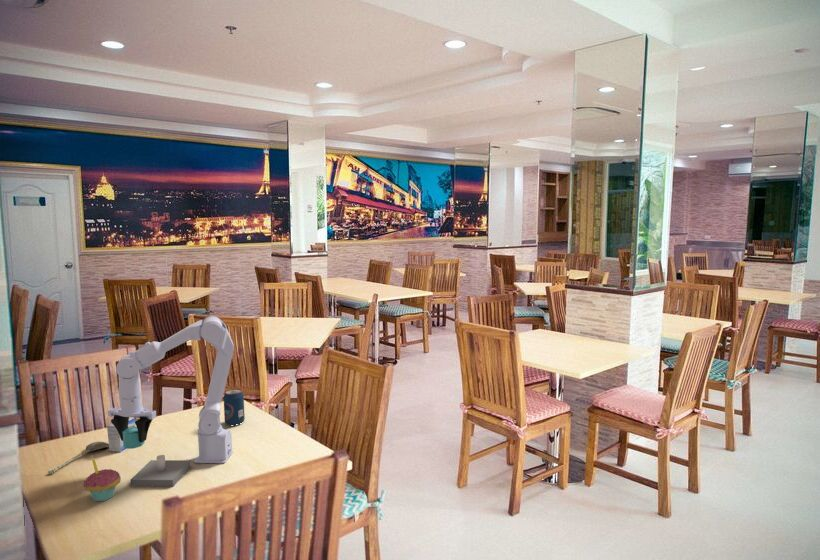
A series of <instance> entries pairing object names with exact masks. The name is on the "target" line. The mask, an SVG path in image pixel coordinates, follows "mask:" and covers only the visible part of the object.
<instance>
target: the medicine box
mask: <svg viewBox="0 0 820 560" xmlns="http://www.w3.org/2000/svg"><path fill="white" fill-rule="evenodd" d="M135 421H137V419H136V417H129V422H128V428H132V427H137V426H136V424H135ZM106 429H107V430H106V431H107V439H108V442H107V443H108V444H109V447H108V451H109V452H118V453H121V452H124V451H125V450H127V449H126V448H125V447H124V446H123V441H121V438H120V435H119V433H118V431H117V429H116V428H115V426H114V425H113V424H112V423H111V424H108V425H107V427H106Z"/></svg>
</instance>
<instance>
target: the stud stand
mask: <svg viewBox="0 0 820 560" xmlns="http://www.w3.org/2000/svg"><path fill="white" fill-rule="evenodd" d="M191 467H192V461H191V459H190V460H188V459H186V460H185V459H183V460H180V459H179V460H177V459H174V460H172V459H171V460H169V459H167V460H166V456H165V455H164V454H160V455H157V456H156V459H150V461H149V462H147V463H146V464H145V465H144V466H143V467H142V468H140V470H139V471H137V473H136V474H135V475H133V476H132V477H131V478H130V479H129V481H130V487H131V486H134V487H142V488H143V487H144V488H145V487H155V488H156V487H163V488H164V487H169V488H170V487H171V488H173V487H175V486H176V484H177V483H178V482H179V481H180V479H181V480H182V477H183V476H184V475H185V474H186V473H187V472H188V471H189V469H190V468H191ZM134 487H133V488H134Z"/></svg>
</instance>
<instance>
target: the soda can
mask: <svg viewBox="0 0 820 560" xmlns="http://www.w3.org/2000/svg"><path fill="white" fill-rule="evenodd" d="M223 412H224V413H223V414H224V422H225V425H227V424H228V425H236V424H240V423H242V422H243V423H244V421H245V418H246V417H245V396H244V393H243V391H242V389H240V388H231V389H227V390H225V391H224V394H223ZM243 423H242V424H243ZM228 425H227V426H228Z"/></svg>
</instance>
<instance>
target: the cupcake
mask: <svg viewBox="0 0 820 560" xmlns="http://www.w3.org/2000/svg"><path fill="white" fill-rule="evenodd" d="M91 463H92V465H93V469H94V472H93V473H90V474H89V475H88V476H87V478H85V480H84V481H83V487H84V488H85V490H86V491H88V492H89V494H90V496H91V497H92V499H93V501H94V502H103V501H107V500H109V499H111V498H112V497H113V496H114V493H115V490H116V487H117V486H118V485H119V484H120V483H121V479H122V478H121V475H120V473H119V471H117V470H115V469H111V468H110V469H108V468H107V469H106V468H105V469H101V470H99V469H98V466H97V463H96V458H95V457H94V456H93V455H91Z"/></svg>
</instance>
